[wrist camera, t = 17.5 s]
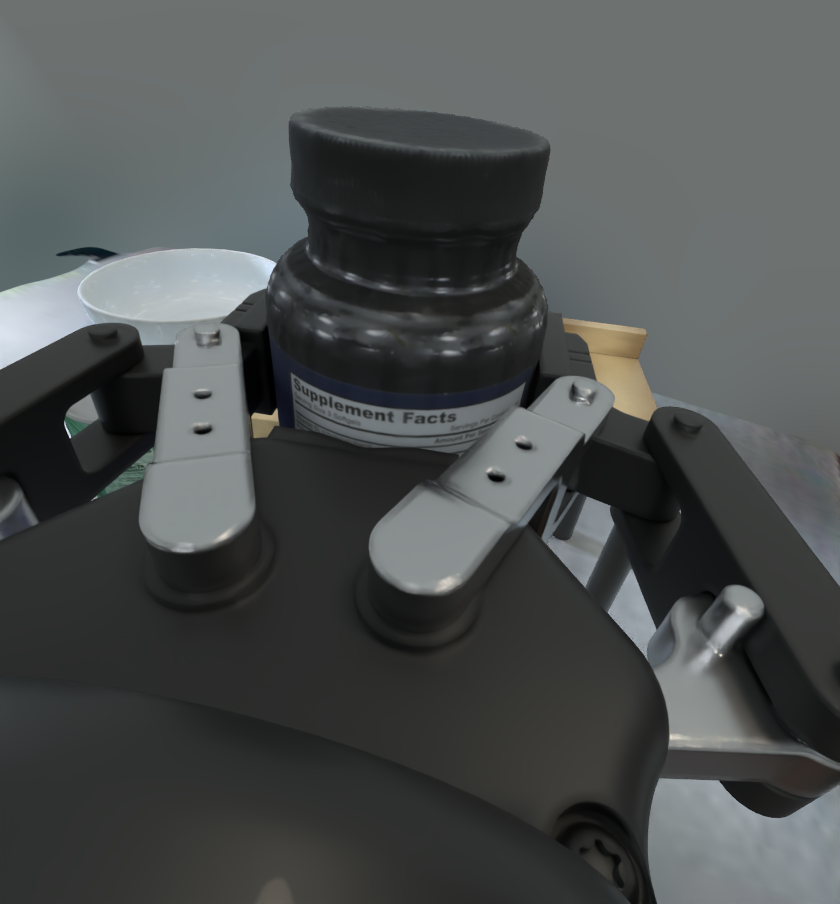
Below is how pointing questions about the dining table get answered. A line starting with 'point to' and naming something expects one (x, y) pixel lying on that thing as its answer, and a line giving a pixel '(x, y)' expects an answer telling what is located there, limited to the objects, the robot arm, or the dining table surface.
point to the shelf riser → (625, 378)
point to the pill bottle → (407, 278)
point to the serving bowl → (172, 290)
